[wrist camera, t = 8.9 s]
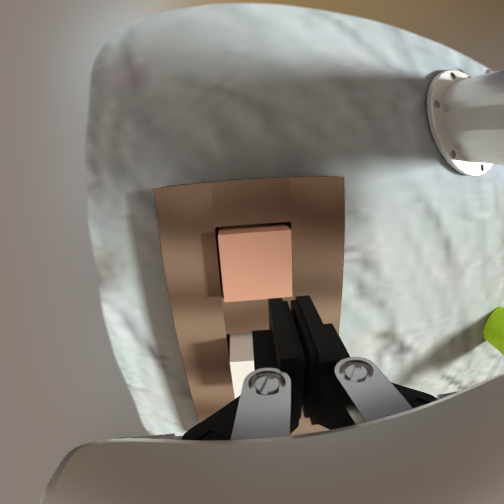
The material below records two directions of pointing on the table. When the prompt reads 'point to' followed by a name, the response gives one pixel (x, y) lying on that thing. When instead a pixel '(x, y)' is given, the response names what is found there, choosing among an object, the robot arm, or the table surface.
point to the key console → (210, 277)
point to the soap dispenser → (495, 329)
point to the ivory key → (240, 359)
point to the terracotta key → (256, 261)
